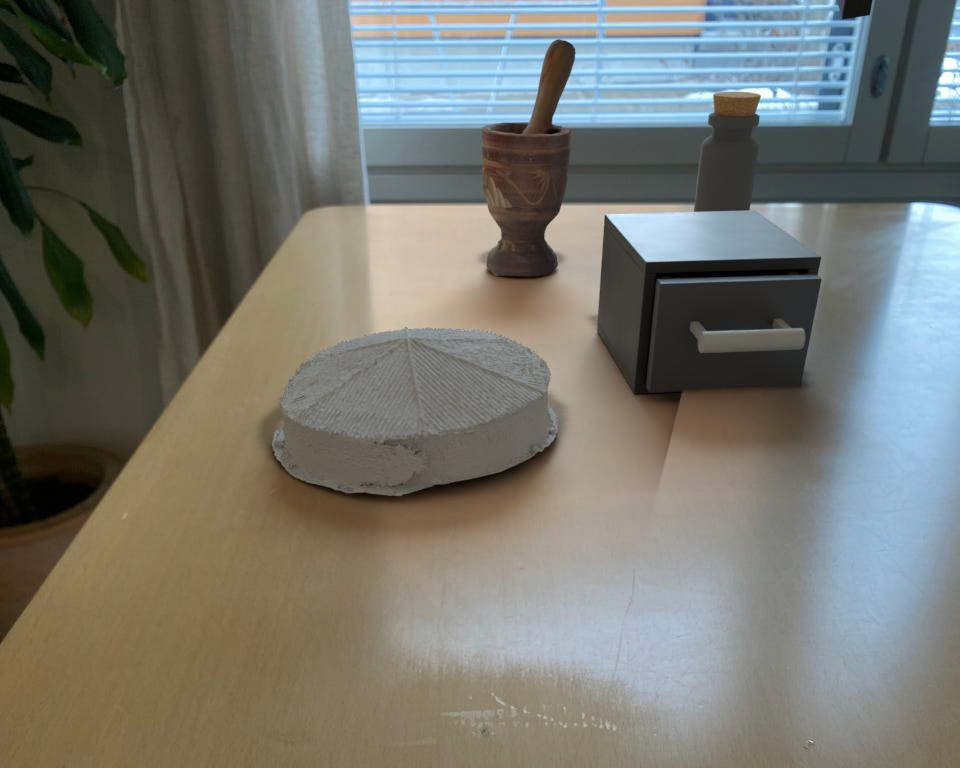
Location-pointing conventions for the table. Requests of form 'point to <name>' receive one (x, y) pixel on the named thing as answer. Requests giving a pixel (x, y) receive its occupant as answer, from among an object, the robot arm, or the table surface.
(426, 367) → the grey round squat piece
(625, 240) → the cabinet
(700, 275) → the drawer
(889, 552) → the table surface
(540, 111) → the mortar and pestle
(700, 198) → the bottle
